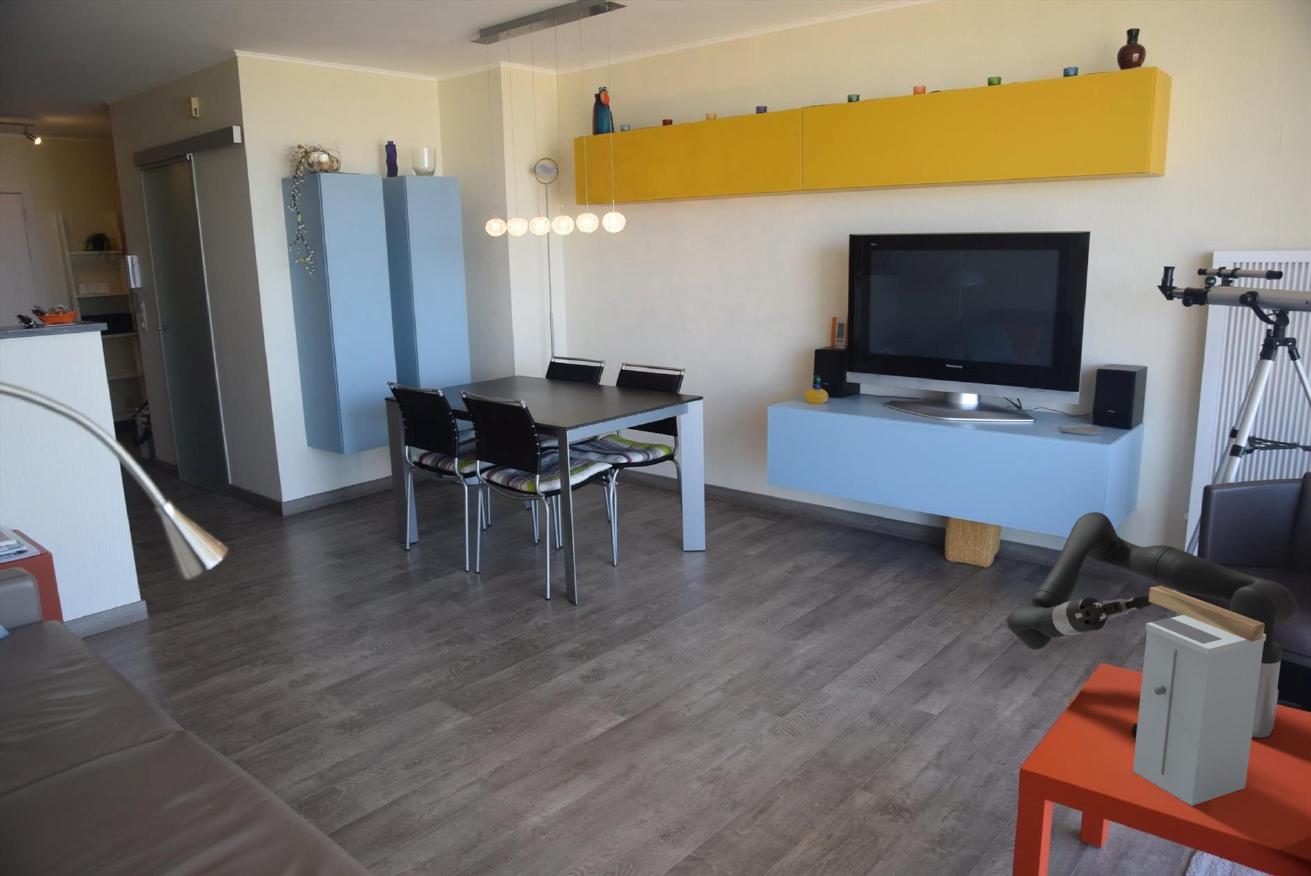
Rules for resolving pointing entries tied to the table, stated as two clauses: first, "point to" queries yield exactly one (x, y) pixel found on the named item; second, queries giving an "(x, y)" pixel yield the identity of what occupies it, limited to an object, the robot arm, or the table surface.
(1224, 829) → the table surface
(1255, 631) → the oak batten
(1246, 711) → the light grey cabinet
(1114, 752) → the table surface
